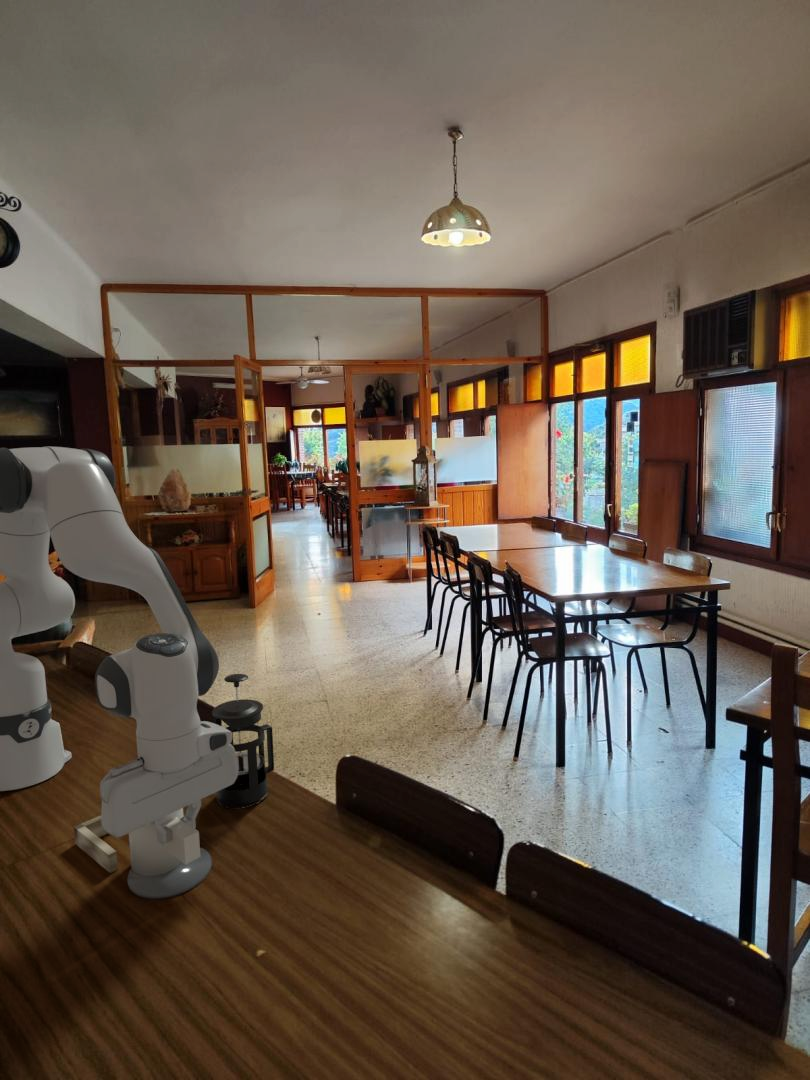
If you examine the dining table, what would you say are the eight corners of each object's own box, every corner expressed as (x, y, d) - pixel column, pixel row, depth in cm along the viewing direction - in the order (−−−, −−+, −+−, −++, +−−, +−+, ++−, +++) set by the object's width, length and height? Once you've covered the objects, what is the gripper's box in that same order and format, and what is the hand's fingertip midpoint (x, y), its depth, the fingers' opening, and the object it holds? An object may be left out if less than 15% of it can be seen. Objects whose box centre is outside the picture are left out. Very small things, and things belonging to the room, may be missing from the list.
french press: (228, 816, 115) (220, 690, 112) (204, 796, 122) (196, 677, 119) (286, 792, 123) (280, 673, 120) (260, 774, 130) (254, 662, 127)
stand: (75, 844, 108) (73, 826, 107) (144, 812, 117) (142, 796, 116) (110, 873, 100) (108, 854, 100) (181, 837, 109) (179, 820, 109)
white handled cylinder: (119, 862, 102) (114, 801, 100) (169, 837, 108) (165, 779, 107) (168, 901, 93) (163, 835, 91) (219, 871, 99) (215, 809, 97)
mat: (112, 875, 99) (112, 872, 99) (184, 839, 108) (184, 836, 108) (154, 910, 92) (153, 906, 92) (227, 868, 101) (227, 864, 101)
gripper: (110, 781, 86) (118, 879, 88) (241, 728, 101) (246, 813, 103) (88, 767, 90) (96, 861, 92) (217, 718, 105) (222, 800, 107)
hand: (176, 835), depth 97 cm, fingers closed on white handled cylinder, 2 cm apart
